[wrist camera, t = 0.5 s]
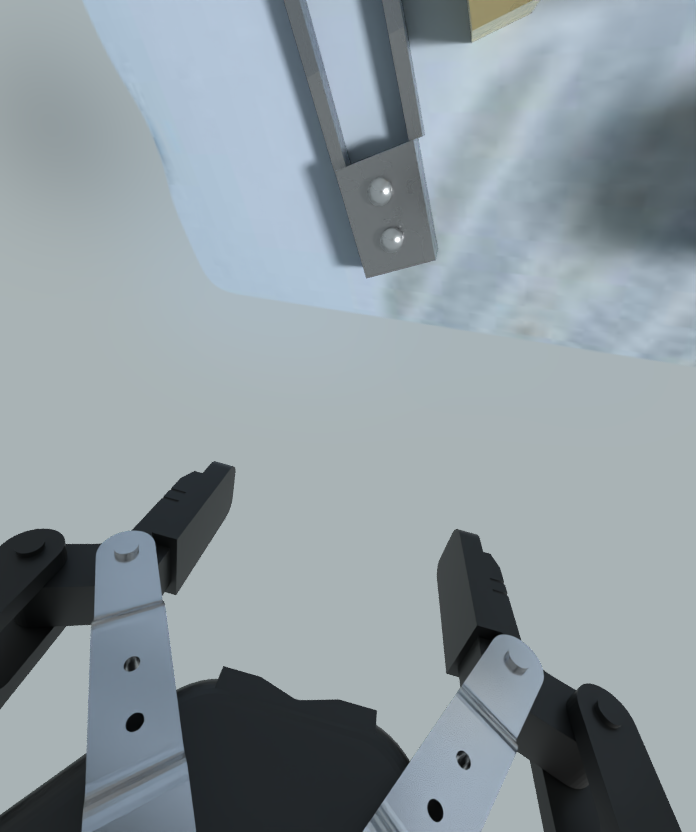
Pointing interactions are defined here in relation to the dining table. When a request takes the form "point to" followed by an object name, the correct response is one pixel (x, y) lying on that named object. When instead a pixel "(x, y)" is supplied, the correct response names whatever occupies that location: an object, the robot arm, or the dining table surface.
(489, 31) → the link
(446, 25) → the dining table surface
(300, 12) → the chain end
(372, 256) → the chain end
